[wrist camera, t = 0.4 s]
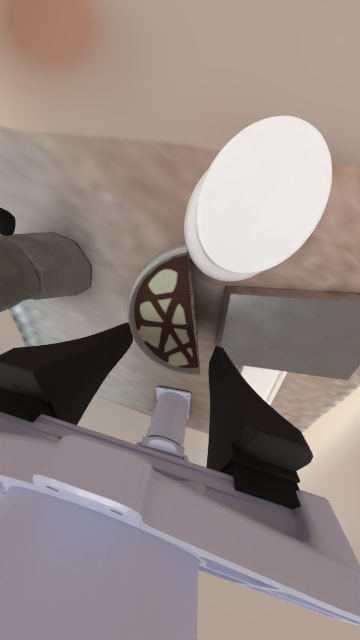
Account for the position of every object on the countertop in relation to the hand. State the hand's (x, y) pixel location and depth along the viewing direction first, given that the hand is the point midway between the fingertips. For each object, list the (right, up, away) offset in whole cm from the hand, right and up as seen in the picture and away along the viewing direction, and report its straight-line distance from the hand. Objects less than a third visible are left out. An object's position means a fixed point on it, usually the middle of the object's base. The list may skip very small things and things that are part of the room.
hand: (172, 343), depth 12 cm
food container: (0, +6, +8) cm, 10 cm away
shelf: (+15, +2, +8) cm, 17 cm away
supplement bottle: (+6, +12, +4) cm, 14 cm away
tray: (+15, -8, +13) cm, 21 cm away
